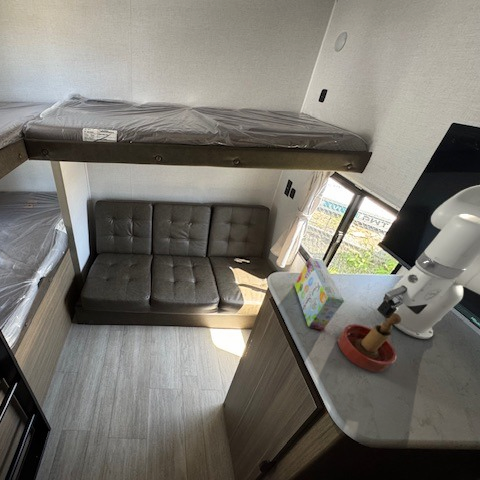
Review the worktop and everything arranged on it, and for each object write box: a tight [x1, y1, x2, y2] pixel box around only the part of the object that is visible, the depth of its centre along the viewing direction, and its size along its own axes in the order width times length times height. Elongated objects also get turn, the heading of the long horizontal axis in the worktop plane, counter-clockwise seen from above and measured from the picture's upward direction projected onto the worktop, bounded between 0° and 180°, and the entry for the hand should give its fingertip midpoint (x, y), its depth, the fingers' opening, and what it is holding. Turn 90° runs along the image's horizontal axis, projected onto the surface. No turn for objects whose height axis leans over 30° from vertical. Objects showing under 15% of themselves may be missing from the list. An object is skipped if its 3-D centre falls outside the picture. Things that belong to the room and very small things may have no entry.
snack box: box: [294, 257, 345, 331], centre depth 91 cm, size 21×6×15 cm, turn 168°
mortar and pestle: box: [352, 313, 401, 360], centre depth 74 cm, size 7×6×18 cm
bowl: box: [337, 323, 397, 373], centre depth 79 cm, size 13×13×5 cm
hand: (397, 312), depth 69 cm, fingers open, 9 cm apart
